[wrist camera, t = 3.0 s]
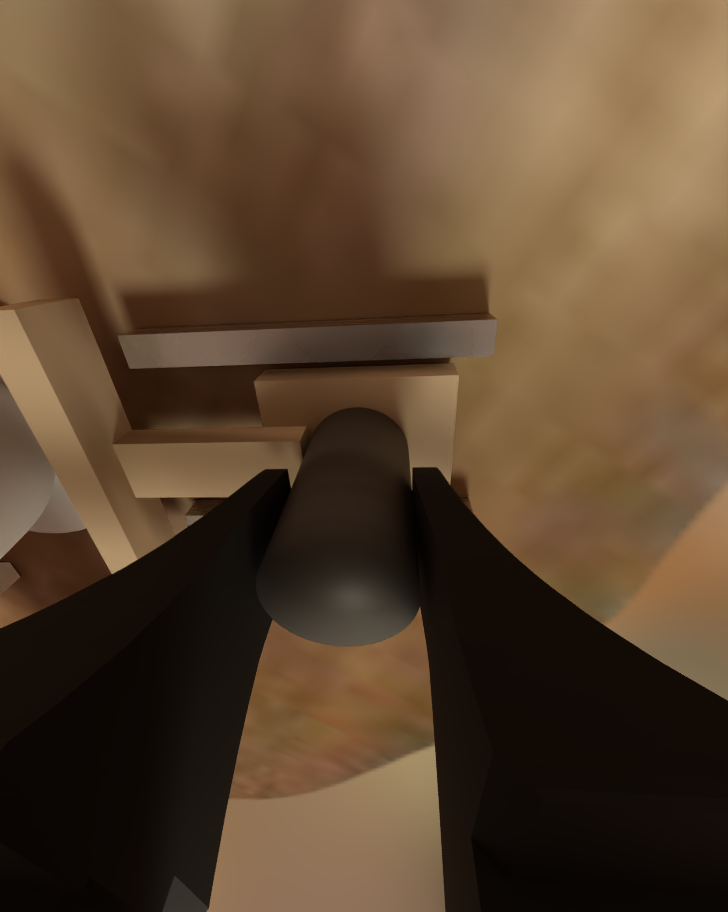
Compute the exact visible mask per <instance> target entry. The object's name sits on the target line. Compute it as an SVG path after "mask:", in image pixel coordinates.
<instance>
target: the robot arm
mask: <svg viewBox="0 0 728 912" xmlns="http://www.w3.org/2000/svg"><path fill="white" fill-rule="evenodd" d="M290 490H291V484H290V479H289V473H288V469H265V470H263V471H262V472H260V473H259V474H257V475H256V476H255V477H253V478H252V479H251V480H249V481H248V482H247V483H246V484H244V485H243V486H242V487H241V488H239V489H238V490H237V491H235V492H234V493H233V494H232V495H230V496H229V497H228V498H226V499H225V500H224V501H222V502H221V503H220V504H219V505H217V506H216V507H215V508H213V509H212V510H211V511H209V512H208V513H207V514H205V515H204V516H203V517H201V518H200V519H198V520H197V521H195V522H194V523H193V524H191V525H190V526H188V527H187V528H186V529H184V530H183V531H181V532H180V533H178V534H177V535H176V536H174V537H173V538H171V539H170V540H168V541H167V542H165V543H164V544H162V545H161V546H159V547H157V548H156V549H154V550H153V551H151V552H149V553H148V554H146V555H144V556H143V557H141V558H139V559H138V560H136V561H134V562H133V563H131V564H129V565H128V566H126V567H124V568H122V569H121V570H119V571H117V572H115V573H113V574H111V575H109V576H108V577H106V578H104V579H102V580H100V581H98V582H96V583H94V584H92V585H90V586H88V587H87V588H85V589H83V590H81V591H79V592H77V593H75V594H73V595H71V596H69V597H67V598H65V599H63V600H61V601H59V602H57V603H55V604H53V605H51V606H49V607H47V608H45V609H42V610H40V611H38V612H36V613H34V614H32V615H30V616H28V617H25V618H23V619H21V620H19V621H16V622H14V623H12V624H10V625H7V626H5V627H3V628H1V629H0V912H206V911H207V910H208V909H209V903H210V897H211V891H212V885H213V880H214V874H215V869H216V863H217V857H218V852H219V847H220V841H221V835H222V830H223V825H224V819H225V813H226V809H227V804H228V799H229V794H230V789H231V784H232V779H233V774H234V769H235V764H236V759H237V754H238V749H239V745H240V740H241V736H242V731H243V727H244V722H245V718H246V713H247V709H248V704H249V700H250V696H251V692H252V688H253V684H254V679H255V675H256V671H257V667H258V663H259V659H260V656H261V653H262V649H263V646H264V643H265V640H266V637H267V634H268V631H269V628H270V625H271V622H272V618H271V617H270V616H269V615H268V613H267V612H266V611H265V609H264V608H263V606H262V604H261V603H260V601H259V598H258V595H257V591H256V577H257V572H258V570H259V567H260V565H261V562H262V560H263V557H264V555H265V552H266V550H267V548H268V545H269V543H270V540H271V538H272V535H273V533H274V530H275V528H276V525H277V523H278V520H279V518H280V515H281V513H282V510H283V508H284V505H285V503H286V500H287V498H288V495H289V493H290ZM412 497H413V509H414V519H415V530H416V541H417V553H418V564H419V576H420V587H421V603H420V608H421V614H422V620H423V626H424V632H425V638H426V645H427V652H428V660H429V669H430V683H431V696H432V710H433V724H434V738H435V752H436V767H437V782H438V796H439V812H440V827H441V844H442V860H443V876H444V894H445V911H446V912H728V701H727V700H725V699H724V698H722V697H720V696H719V695H717V694H715V693H714V692H712V691H710V690H708V689H707V688H705V687H703V686H701V685H700V684H698V683H696V682H694V681H693V680H691V679H689V678H688V677H685V676H684V675H682V674H681V673H679V672H677V671H675V670H674V669H672V668H670V667H669V666H667V665H665V664H663V663H662V662H660V661H658V660H657V659H655V658H654V657H652V656H650V655H649V654H647V653H646V652H644V651H642V650H641V649H640V648H638V647H637V646H635V645H633V644H632V643H630V642H629V641H627V640H626V639H624V638H623V637H621V636H619V635H618V634H616V633H615V632H613V631H612V630H610V629H609V628H607V627H606V626H604V625H603V624H601V623H600V622H599V621H597V620H596V619H594V618H593V617H591V616H590V615H588V614H587V613H585V612H584V611H583V610H581V609H580V608H579V607H577V606H576V605H575V604H573V603H572V602H571V601H569V600H568V599H567V598H565V597H564V596H562V595H561V594H560V593H558V592H557V591H556V590H554V589H553V588H552V587H550V586H549V585H548V584H547V583H545V582H544V581H543V580H542V579H540V578H539V577H538V576H537V575H535V574H534V573H533V572H532V571H531V570H530V569H528V568H527V567H526V566H525V565H524V564H523V563H522V562H520V561H519V560H518V559H517V558H516V557H515V556H514V555H513V554H512V553H510V552H509V551H508V550H507V549H506V548H505V547H504V546H503V545H502V544H501V543H500V542H499V541H498V540H497V539H496V538H495V537H494V536H493V535H492V534H491V533H490V532H489V531H488V530H487V528H486V527H485V526H484V525H483V524H482V523H481V522H480V521H479V520H478V519H477V517H476V516H475V515H474V514H473V513H472V512H471V510H470V509H469V508H468V507H467V506H466V505H465V503H464V502H463V501H462V500H461V498H460V497H459V496H458V495H457V493H456V492H455V491H454V489H453V488H452V487H451V485H450V484H449V483H448V481H447V480H446V478H445V477H444V475H443V474H442V472H441V471H440V470H439V469H438V468H437V467H412Z"/></svg>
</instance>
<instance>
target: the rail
mask: <svg viewBox="0 0 728 912" xmlns="http://www.w3.org/2000/svg"><path fill="white" fill-rule="evenodd" d="M497 322H498V319H497V318H495V317H494V316H492V315H491V314H490V313H483V314H461V315H438V316H415V317H393V318H370V319H347V320H325V321H302V322H279V323H257V324H234V325H211V326H189V327H166V328H144V329H135V330H132V331H129V332H126V333H123V334H121V335H118V339H119V342H120V344H121V347H122V350H123V352H124V355H125V358H126V360H127V363H128V366H129V368H130V369H138V368H167V367H195V366H224V365H252V364H281V363H309V362H338V361H367V360H395V359H424V358H452V357H481V356H493V354H494V346H495V338H496V330H497ZM461 500H462V501H463V502H464V503H465V505H466V506H467V507H468V508H469V509H470V510H471V512H472V513H473V511H472V508H471V504H470V501H469V499H461ZM222 501H224V500H196V501H195V503H194V504H193V505H192V507H191V508H190V509H189V511H188V512H187V513H186V515H185V517H186V520H187V523H188V525H189V526H190V525H191V524H193V523H194V522H195V521H197V520H198V519H200V518H201V517H203V516H204V515H205V514H207V513H208V512H209V511H211V510H212V509H213V508H215V507H216V506H217V505H219V504H220V503H221V502H222Z"/></svg>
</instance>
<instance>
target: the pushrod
mask: <svg viewBox="0 0 728 912" xmlns="http://www.w3.org/2000/svg"><path fill="white" fill-rule="evenodd" d="M0 375H1V376H2V378H3V380H4V382H5V384H6V385H7V387H8V389H9V391H10V393H11V394H12V396H13V398H14V400H15V402H16V403H17V405H18V407H19V409H20V410H21V412H22V414H23V416H24V418H25V419H26V421H27V423H28V425H29V427H30V428H31V430H32V432H33V434H34V436H35V437H36V439H37V441H38V443H39V445H40V446H41V448H42V450H43V452H44V453H45V455H46V457H47V459H48V461H49V462H50V464H51V466H52V468H53V470H54V471H55V473H56V475H57V477H58V479H59V480H60V482H61V484H62V486H63V487H64V489H65V491H66V493H67V495H68V496H69V498H70V500H71V502H72V504H73V505H74V507H75V509H76V511H77V513H78V514H79V516H80V518H81V520H82V522H83V523H84V525H85V527H86V529H87V530H88V532H89V534H90V536H91V538H92V539H93V541H94V543H95V545H96V547H97V548H98V550H99V552H100V554H101V556H102V557H103V559H104V561H105V563H106V564H107V566H108V568H109V570H110V572H111V573H112V574H113V573H115V572H117V571H119V570H121V569H122V568H124V567H126V566H128V565H129V564H131V563H133V562H134V561H136V560H138V559H139V558H141V557H143V556H144V555H146V554H148V553H149V552H151V551H153V550H154V549H156V548H157V547H159V546H161V545H162V544H164V543H165V542H167V541H168V540H170V539H171V538H173V537H174V536H175V534H174V532H173V529H172V527H171V524H170V522H169V519H168V517H167V514H166V512H165V510H164V507H163V505H162V502H161V500H160V498H164V497H229V496H230V495H232V494H233V493H234V492H235V491H237V490H238V489H239V488H241V487H242V486H243V485H244V484H246V483H247V482H248V481H249V480H251V479H252V478H253V477H255V476H256V475H257V474H259V473H260V472H262V471H263V470H265V469H288V473H289V479H290V484H291V490H290V493H289V495H288V498H287V500H286V503H285V505H284V508H283V510H282V513H281V515H280V518H279V520H278V523H277V525H276V528H275V530H274V533H273V535H272V538H271V540H270V543H269V545H268V548H267V550H266V552H265V555H264V557H263V560H262V562H261V565H260V567H259V570H258V572H257V577H256V591H257V595H258V598H259V601H260V603H261V604H262V606H263V608H264V609H265V611H266V612H267V613H268V615H269V616H270V617H271V618H272V619H273V620H274V621H275V622H277V623H278V624H279V625H280V626H282V627H283V628H285V629H286V630H288V631H289V632H291V633H293V634H295V635H297V636H300V637H302V638H304V639H307V640H310V641H313V642H317V643H321V644H326V645H333V646H362V645H368V644H373V643H377V642H380V641H383V640H386V639H388V638H390V637H392V636H394V635H396V634H398V633H399V632H401V631H402V630H404V629H405V628H406V627H407V626H408V625H409V624H410V623H411V622H412V620H413V619H414V618H415V616H416V614H417V612H418V610H419V607H420V603H421V587H420V576H419V564H418V553H417V541H416V530H415V519H414V509H413V497H412V467H437V468H438V469H439V470H440V471H441V472H442V474H443V475H444V477H445V478H446V480H447V481H448V483H449V484H450V482H451V470H452V457H453V444H454V431H455V418H456V406H457V393H458V380H459V374H458V372H457V371H456V369H455V367H454V365H453V363H443V364H413V365H384V366H354V367H325V368H295V369H266V370H264V372H263V373H262V374H261V375H260V376H259V377H258V378H257V379H256V380H255V381H254V386H255V390H256V395H257V400H258V405H259V410H260V414H261V419H262V424H263V427H247V428H200V429H152V430H132V428H131V426H130V424H129V421H128V419H127V416H126V414H125V411H124V409H123V406H122V404H121V401H120V399H119V397H118V394H117V392H116V389H115V387H114V384H113V382H112V379H111V377H110V374H109V372H108V369H107V367H106V365H105V362H104V360H103V357H102V355H101V352H100V350H99V347H98V345H97V342H96V340H95V338H94V335H93V333H92V330H91V328H90V325H89V323H88V320H87V318H86V315H85V313H84V310H83V308H82V306H81V303H80V301H79V298H69V299H50V300H36V301H30V302H23V303H17V304H11V305H5V306H0Z"/></svg>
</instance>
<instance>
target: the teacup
mask: <svg viewBox="0 0 728 912" xmlns="http://www.w3.org/2000/svg"><path fill="white" fill-rule="evenodd" d="M83 529H86V527H85V525H84V523H83V522H82V520H81V518H80V516H79V514H78V513H77V511H76V509H75V507H74V505H73V504H72V502H71V500H70V498H69V496H68V495H67V493H66V491H65V489H64V487H63V486H62V484H61V482H60V480H59V479H58V477H57V475H56V473H55V471H54V470H53V468H52V466H51V464H50V462H49V461H48V459H47V457H46V455H45V453H44V452H43V450H42V448H41V446H40V445H39V443H38V441H37V439H36V437H35V436H34V434H33V432H32V430H31V428H30V427H29V425H28V423H27V421H26V419H25V418H24V416H23V414H22V412H21V410H20V409H19V407H18V405H17V403H16V402H15V400H14V398H13V396H12V394H11V393H10V391H9V389H8V387H7V385H6V384H5V382H4V380H3V378H2V376H1V375H0V559H1V558H2V557H3V556H4V555H5V554H6V553H7V552H8V551H9V550H10V549H11V548H12V547H13V546H14V545H15V544H16V543H17V542H18V541H19V540H20V539H21V538H22V537H23V536H24V535H25V534H26V533H27V531H33V532H40V533H68V532H74V531H79V530H83Z"/></svg>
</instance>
